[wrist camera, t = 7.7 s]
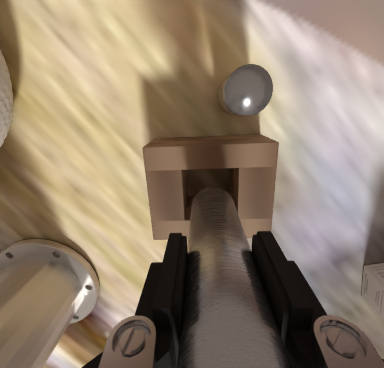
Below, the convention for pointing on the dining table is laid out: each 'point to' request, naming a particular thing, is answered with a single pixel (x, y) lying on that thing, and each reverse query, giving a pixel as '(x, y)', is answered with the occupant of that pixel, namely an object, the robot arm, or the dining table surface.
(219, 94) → the short steel pin
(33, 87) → the dining table surface
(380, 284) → the ink box
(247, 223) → the walnut hole block
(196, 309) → the long steel pin
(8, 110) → the cereal bowl
